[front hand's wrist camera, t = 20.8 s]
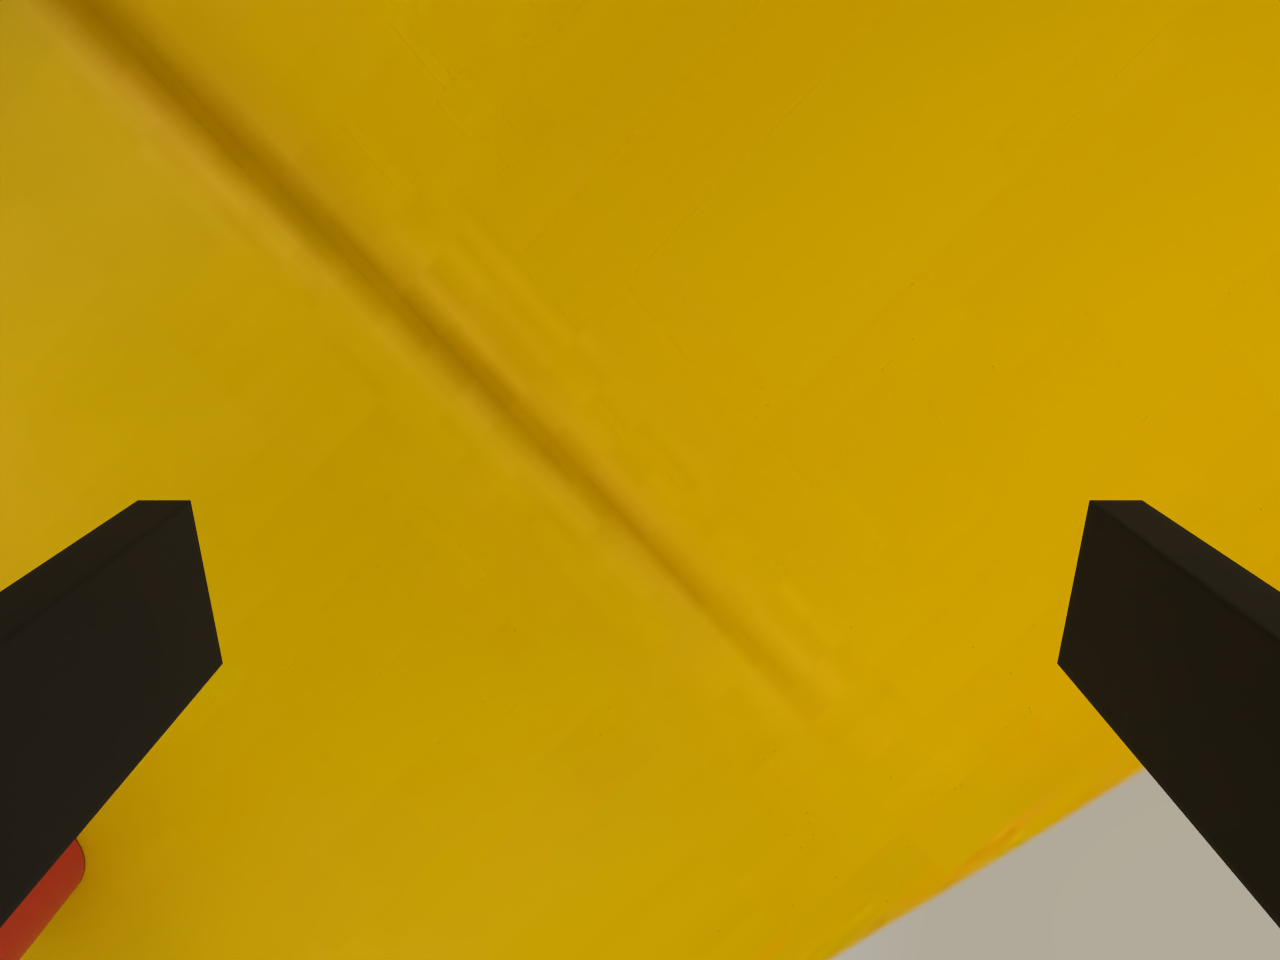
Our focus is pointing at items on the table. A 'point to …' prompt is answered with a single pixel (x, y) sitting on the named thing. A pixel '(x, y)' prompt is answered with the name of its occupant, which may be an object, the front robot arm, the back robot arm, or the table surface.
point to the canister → (41, 904)
